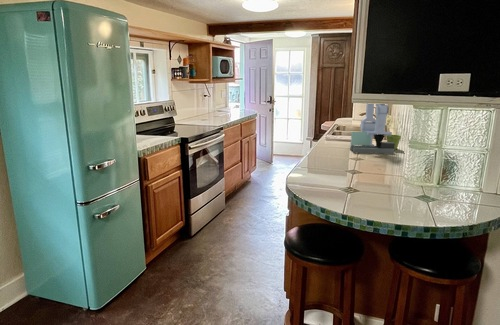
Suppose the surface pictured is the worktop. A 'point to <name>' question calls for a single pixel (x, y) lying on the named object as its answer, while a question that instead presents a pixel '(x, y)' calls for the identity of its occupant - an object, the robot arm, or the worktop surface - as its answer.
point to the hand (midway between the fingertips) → (377, 146)
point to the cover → (360, 138)
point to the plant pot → (394, 139)
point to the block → (387, 145)
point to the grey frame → (371, 149)
